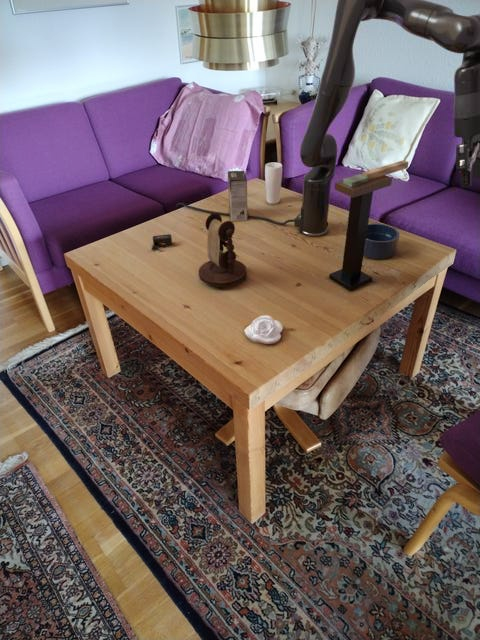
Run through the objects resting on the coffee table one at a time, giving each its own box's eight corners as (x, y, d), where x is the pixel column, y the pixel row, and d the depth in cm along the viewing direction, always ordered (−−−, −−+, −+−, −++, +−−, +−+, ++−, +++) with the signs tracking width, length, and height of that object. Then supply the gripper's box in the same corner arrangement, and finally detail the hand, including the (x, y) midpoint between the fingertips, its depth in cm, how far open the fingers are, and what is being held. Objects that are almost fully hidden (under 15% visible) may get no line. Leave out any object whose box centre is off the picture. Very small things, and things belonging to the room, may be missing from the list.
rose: (272, 305, 126) (290, 325, 119) (272, 318, 128) (290, 338, 121) (238, 315, 123) (255, 336, 115) (238, 329, 125) (255, 350, 118)
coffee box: (228, 211, 185) (227, 170, 175) (245, 210, 185) (244, 169, 176) (230, 221, 178) (229, 179, 168) (247, 220, 178) (247, 178, 168)
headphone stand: (356, 266, 149) (370, 169, 131) (377, 279, 143) (395, 179, 125) (322, 280, 143) (332, 181, 125) (343, 294, 137) (356, 191, 118)
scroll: (190, 275, 148) (184, 215, 136) (229, 260, 154) (226, 202, 142) (216, 296, 138) (212, 234, 126) (256, 279, 145) (256, 219, 133)
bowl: (353, 257, 154) (355, 239, 150) (357, 239, 164) (359, 221, 160) (395, 262, 151) (399, 244, 147) (396, 243, 161) (399, 225, 157)
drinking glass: (280, 205, 188) (281, 168, 179) (263, 204, 189) (263, 167, 180) (282, 199, 193) (283, 162, 184) (266, 198, 195) (266, 161, 186)
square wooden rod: (400, 165, 133) (401, 159, 131) (409, 168, 130) (410, 162, 129) (342, 183, 123) (343, 176, 122) (351, 187, 121) (352, 180, 120)
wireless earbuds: (151, 244, 164) (150, 236, 162) (171, 242, 165) (170, 234, 163) (152, 251, 161) (150, 242, 159) (172, 248, 162) (171, 240, 160)
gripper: (465, 111, 118) (466, 176, 125) (443, 120, 109) (445, 191, 116) (497, 105, 113) (497, 174, 120) (478, 115, 104) (478, 189, 111)
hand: (472, 182), depth 118 cm, fingers open, 8 cm apart
